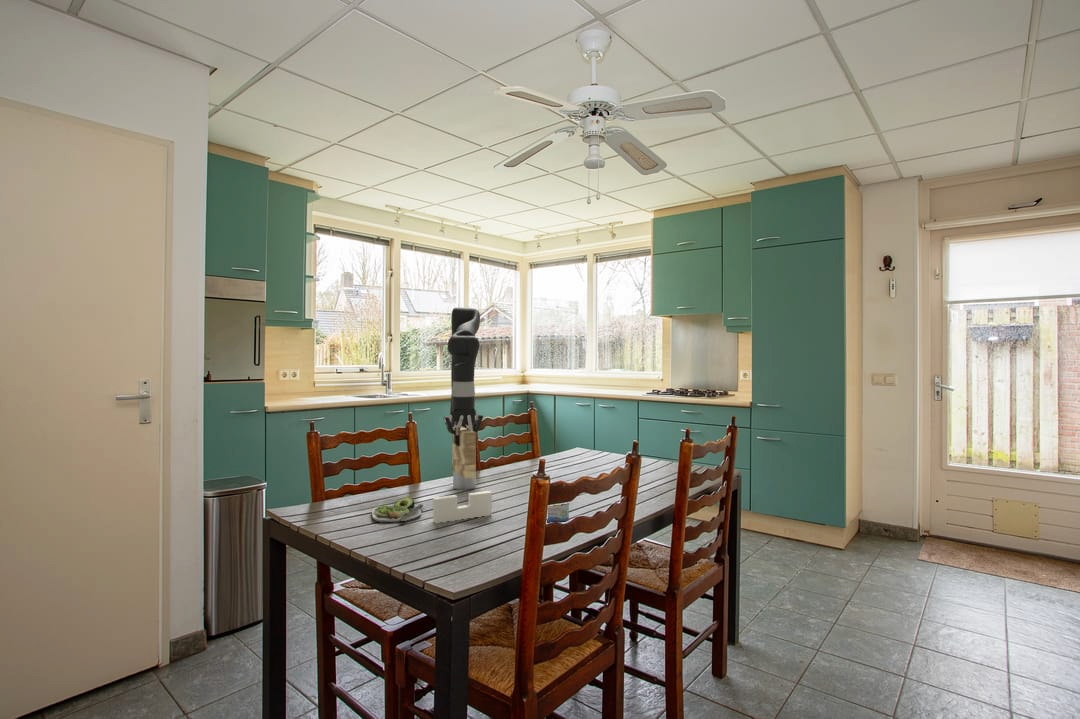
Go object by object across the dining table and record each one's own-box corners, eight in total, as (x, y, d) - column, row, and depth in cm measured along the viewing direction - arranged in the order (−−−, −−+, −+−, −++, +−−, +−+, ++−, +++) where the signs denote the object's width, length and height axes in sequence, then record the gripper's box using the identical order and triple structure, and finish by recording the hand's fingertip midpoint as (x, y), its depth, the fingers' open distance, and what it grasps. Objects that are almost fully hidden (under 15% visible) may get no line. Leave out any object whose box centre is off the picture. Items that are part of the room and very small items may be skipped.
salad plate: (427, 523, 180) (427, 509, 180) (371, 528, 175) (371, 514, 175) (422, 507, 199) (422, 494, 199) (371, 511, 193) (371, 498, 193)
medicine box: (545, 522, 181) (546, 496, 181) (543, 518, 186) (543, 493, 185) (569, 521, 182) (569, 495, 182) (566, 517, 187) (566, 492, 187)
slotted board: (433, 521, 181) (433, 497, 181) (489, 513, 190) (489, 490, 190) (435, 523, 179) (435, 499, 179) (491, 515, 188) (491, 492, 188)
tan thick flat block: (451, 469, 190) (452, 427, 189) (461, 468, 191) (461, 426, 191) (465, 478, 177) (465, 432, 177) (475, 477, 179) (475, 432, 179)
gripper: (479, 393, 190) (479, 442, 191) (439, 394, 184) (439, 445, 184) (487, 395, 184) (486, 445, 184) (446, 396, 177) (446, 449, 178)
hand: (463, 445), depth 184 cm, fingers closed on tan thick flat block, 3 cm apart
